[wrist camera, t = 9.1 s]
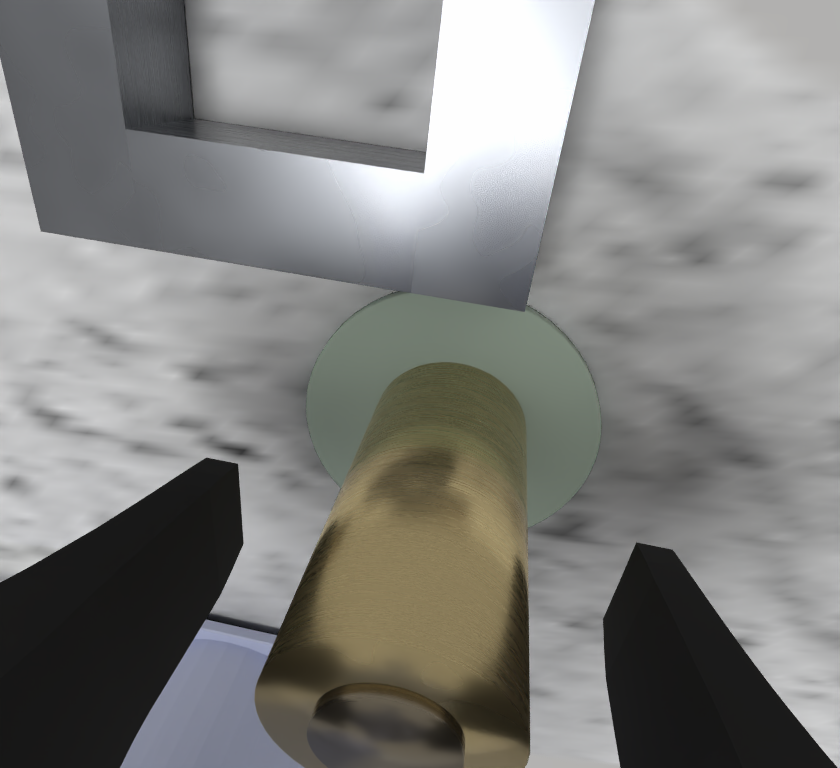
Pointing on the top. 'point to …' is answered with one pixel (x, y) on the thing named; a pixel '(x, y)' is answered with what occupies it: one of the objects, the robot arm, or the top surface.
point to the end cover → (415, 592)
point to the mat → (472, 345)
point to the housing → (298, 151)
